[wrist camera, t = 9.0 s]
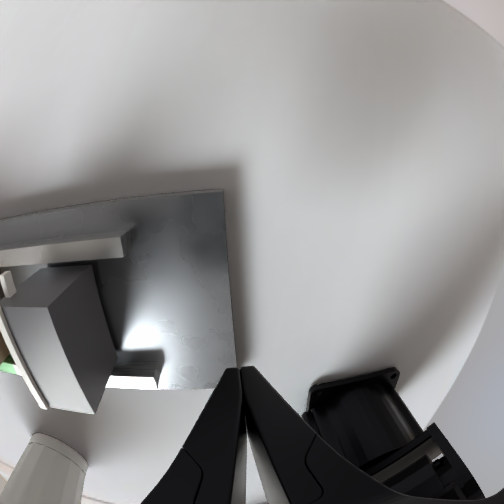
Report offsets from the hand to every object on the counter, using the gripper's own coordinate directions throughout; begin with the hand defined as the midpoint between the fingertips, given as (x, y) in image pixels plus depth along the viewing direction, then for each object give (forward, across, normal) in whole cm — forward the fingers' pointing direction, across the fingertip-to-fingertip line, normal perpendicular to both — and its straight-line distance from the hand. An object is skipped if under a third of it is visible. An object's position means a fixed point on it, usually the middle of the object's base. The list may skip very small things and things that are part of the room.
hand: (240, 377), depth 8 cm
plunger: (+5, +8, 0) cm, 9 cm away
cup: (+6, +19, +17) cm, 26 cm away
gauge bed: (+6, +11, 0) cm, 12 cm away
